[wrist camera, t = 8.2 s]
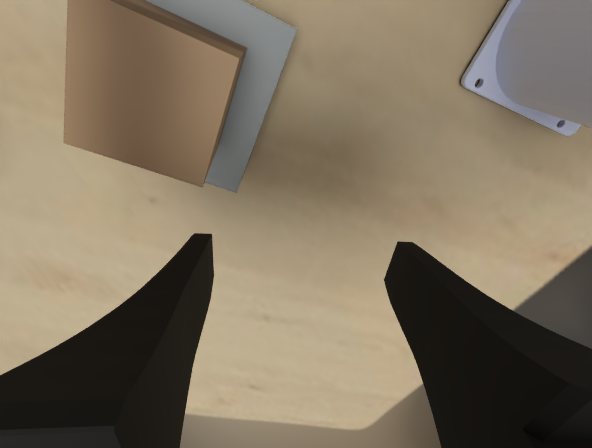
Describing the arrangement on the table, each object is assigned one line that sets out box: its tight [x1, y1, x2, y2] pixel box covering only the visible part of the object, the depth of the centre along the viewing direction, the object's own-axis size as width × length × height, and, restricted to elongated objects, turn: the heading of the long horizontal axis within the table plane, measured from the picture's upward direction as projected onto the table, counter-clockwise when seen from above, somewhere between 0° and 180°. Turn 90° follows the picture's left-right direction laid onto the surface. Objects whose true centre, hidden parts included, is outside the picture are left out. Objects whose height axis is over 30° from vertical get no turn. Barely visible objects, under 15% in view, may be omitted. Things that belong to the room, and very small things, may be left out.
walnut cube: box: [64, 0, 247, 187], centre depth 13 cm, size 5×5×5 cm
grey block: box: [145, 0, 297, 192], centre depth 16 cm, size 9×9×4 cm
